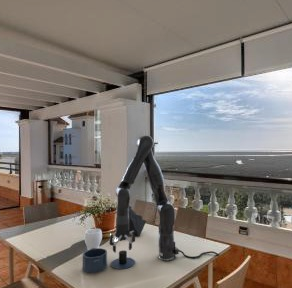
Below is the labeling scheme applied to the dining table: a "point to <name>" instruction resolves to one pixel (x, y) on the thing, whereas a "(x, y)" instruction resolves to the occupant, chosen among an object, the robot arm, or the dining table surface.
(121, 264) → the lid
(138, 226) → the decorative tree
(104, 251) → the pot
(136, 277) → the dining table surface
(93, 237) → the white vase
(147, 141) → the robot arm
